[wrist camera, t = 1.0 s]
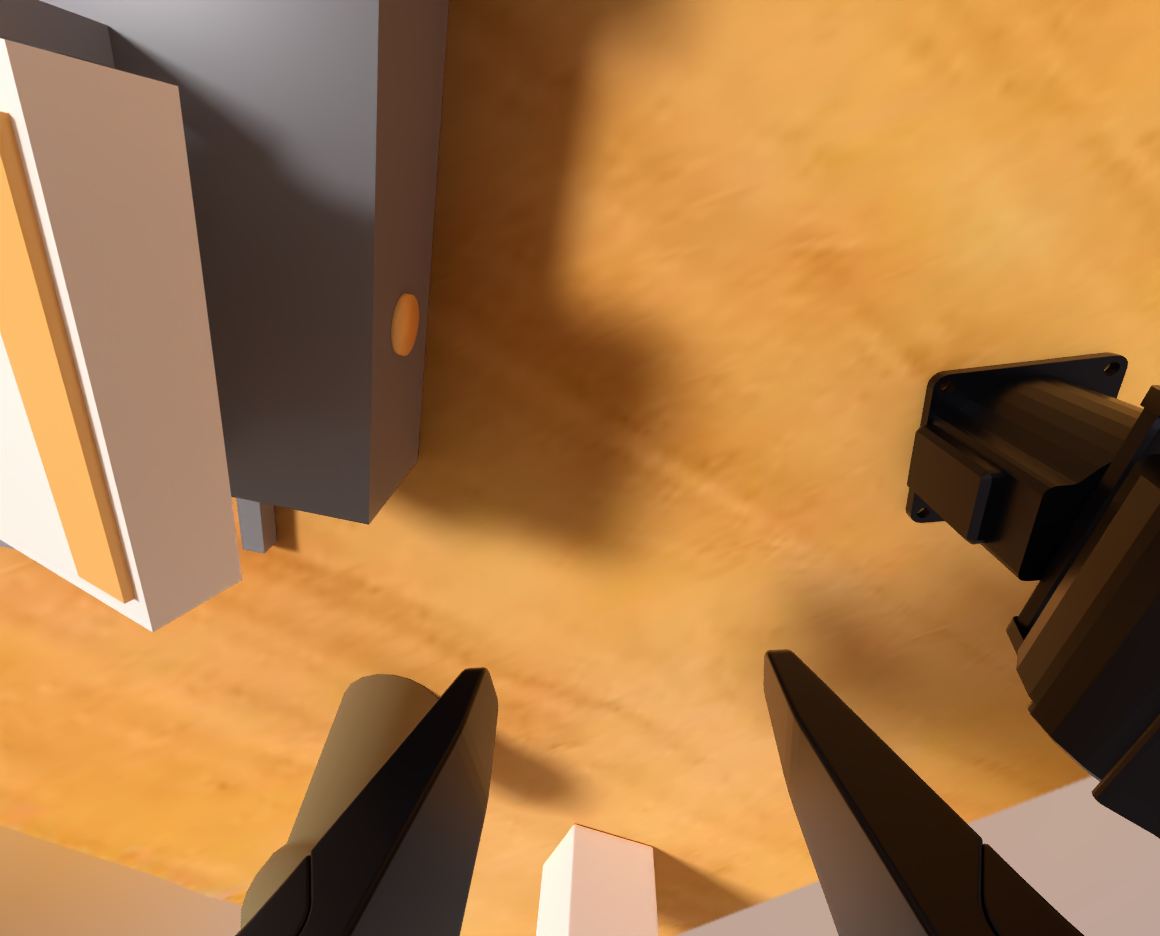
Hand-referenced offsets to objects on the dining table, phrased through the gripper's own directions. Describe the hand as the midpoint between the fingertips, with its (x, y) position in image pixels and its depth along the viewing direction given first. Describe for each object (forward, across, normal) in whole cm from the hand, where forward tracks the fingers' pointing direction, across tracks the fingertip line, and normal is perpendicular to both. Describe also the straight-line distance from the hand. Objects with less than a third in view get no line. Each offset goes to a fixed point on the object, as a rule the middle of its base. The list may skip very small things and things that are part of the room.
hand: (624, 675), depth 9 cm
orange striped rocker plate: (+4, +13, -7) cm, 16 cm away
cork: (+13, +15, +17) cm, 26 cm away
